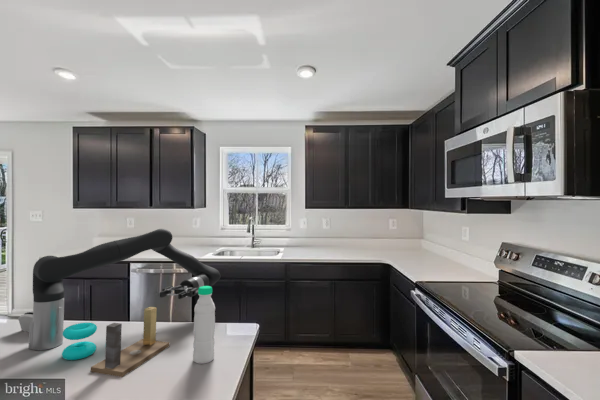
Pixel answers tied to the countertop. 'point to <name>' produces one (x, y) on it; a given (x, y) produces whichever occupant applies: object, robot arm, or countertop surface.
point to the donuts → (79, 348)
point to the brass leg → (149, 326)
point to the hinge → (26, 320)
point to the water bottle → (204, 326)
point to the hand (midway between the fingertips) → (169, 295)
